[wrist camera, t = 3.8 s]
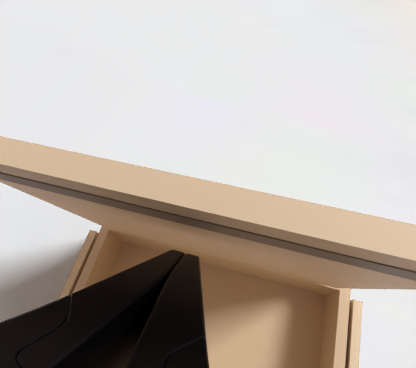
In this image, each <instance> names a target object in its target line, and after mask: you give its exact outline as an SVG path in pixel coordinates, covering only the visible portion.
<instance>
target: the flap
mask: <svg viewBox="0 0 416 368" xmlns="http://www.w3.org/2000/svg"><path fill="white" fill-rule="evenodd" d="M0 182H2V183H4V184H6V185H9V186H11V187H13V188H16V189H18V190H20V191H23V192H25V193H27V194H30V195H32V196H34V197H37V198H39V199H41V200H44V201H46V202H48V203H51V204H53V205H55V206H57V207H60V208H62V209H64V210H67V211H69V212H71V213H74V214H76V215H78V216H81V217H83V218H85V219H88V220H90V221H92V222H95V223H97V224H99V225H102V226H104V227H106V228H109V229H111V230H115V231H119V232H123V233H126V234H130V235H134V236H138V237H142V238H146V239H150V240H153V241H157V242H161V243H165V244H169V245H173V246H176V247H180V248H184V249H188V250H192V251H196V252H199V253H203V254H207V255H211V256H215V257H219V258H223V259H226V260H230V261H234V262H238V263H242V264H246V265H249V266H253V267H257V268H261V269H265V270H269V271H272V272H276V273H280V274H284V275H288V276H292V277H296V278H299V279H303V280H307V281H311V282H315V283H319V284H322V285H326V286H330V287H334V288H359V289H416V225H413V224H409V223H404V222H399V221H395V220H390V219H385V218H381V217H376V216H371V215H367V214H362V213H357V212H353V211H348V210H343V209H338V208H334V207H329V206H324V205H320V204H315V203H310V202H306V201H301V200H296V199H292V198H287V197H282V196H277V195H273V194H268V193H263V192H259V191H254V190H249V189H245V188H240V187H235V186H231V185H226V184H221V183H217V182H212V181H207V180H202V179H198V178H193V177H188V176H184V175H179V174H174V173H170V172H165V171H160V170H156V169H151V168H146V167H141V166H137V165H132V164H127V163H123V162H118V161H113V160H109V159H104V158H99V157H95V156H90V155H85V154H81V153H76V152H71V151H66V150H62V149H57V148H52V147H48V146H43V145H38V144H34V143H29V142H24V141H20V140H15V139H10V138H5V137H1V136H0Z"/></svg>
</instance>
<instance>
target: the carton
mask: <svg viewBox="0 0 416 368" xmlns="http://www.w3.org/2000/svg"><path fill="white" fill-rule="evenodd" d="M169 250H177V251H181V252H184V253H185V254H187V253H188V254H192V255H196V256H198V257H199V258H200V270H201V282H202V294H203V306H204V318H205V330H206V340H207V352H208V360H209V368H359V353H360V335H361V316H362V302H361V301H357V300H351V301H350V291H351V288H334V287H330V286H326V285H322V284H319V283H315V282H311V281H307V280H303V279H299V278H296V277H292V276H288V275H284V274H280V273H276V272H272V271H269V270H265V269H261V268H257V267H253V266H249V265H246V264H242V263H238V262H234V261H230V260H226V259H223V258H219V257H215V256H211V255H207V254H203V253H199V252H196V251H192V250H188V249H184V248H180V247H176V246H173V245H169V244H165V243H161V242H157V241H153V240H150V239H146V238H142V237H138V236H134V235H130V234H126V233H123V232H119V231H115V230H111V229H109V228H106V227H104V226H102V227H101V230H100V232H99V233H97V232H96V231H92V230H90V231H89V233H88V235H87V238H86V240H85V242H84V244H83V246H82V249H81V251H80V253H79V255H78V257H77V259H76V262H75V264H74V266H73V268H72V270H71V273H70V275H69V277H68V279H67V281H66V283H65V286H64V288H63V290H62V292H61V294H60V297H59V299H60V298H63V297H65V296H67V295H70V296H71V294H72V293H74V292H77V291H79V290H81V289H83V288H86V287H88V286H90V285H92V284H95V283H97V282H99V281H101V280H104V279H106V278H108V277H110V276H113V275H115V274H117V273H120V272H122V271H124V270H126V269H129V268H131V267H133V266H135V265H138V264H140V263H142V262H144V261H147V260H149V259H151V258H154V257H156V256H158V255H160V254H163V253H165V252H167V251H169Z"/></svg>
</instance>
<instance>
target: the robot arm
mask: <svg viewBox="0 0 416 368" xmlns="http://www.w3.org/2000/svg"><path fill="white" fill-rule="evenodd" d="M0 368H209V360H208V352H207V340H206V330H205V318H204V306H203V294H202V282H201V270H200V258H199V257H198V256H196V255H192V254H188V253H187V254H185V253H184V252H181V251H177V250H169V251H167V252H165V253H163V254H160V255H158V256H156V257H154V258H151V259H149V260H147V261H144V262H142V263H140V264H138V265H135V266H133V267H131V268H129V269H126V270H124V271H122V272H120V273H117V274H115V275H113V276H110V277H108V278H106V279H104V280H101V281H99V282H97V283H95V284H92V285H90V286H88V287H86V288H83V289H81V290H79V291H77V292H74V293H72V294H71V296H70V295H67V296H65V297H63V298H60V299H58V300H56V301H54V302H51V303H49V304H46V305H44V306H42V307H39V308H37V309H34V310H32V311H29V312H27V313H24V314H21V315H19V316H16V317H13V318H11V319H8V320H5V321H3V322H0Z"/></svg>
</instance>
